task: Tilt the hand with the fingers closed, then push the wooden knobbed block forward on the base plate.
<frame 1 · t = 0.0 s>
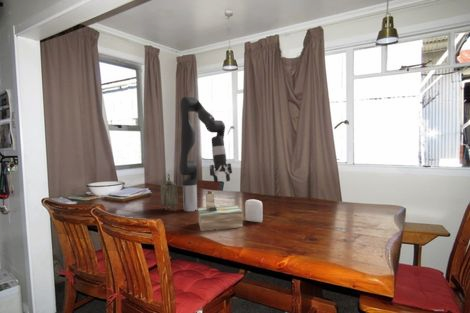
hand: (222, 182, 164), 22 cm above the table, tool pointing down, fingers open, 8 cm apart
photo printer: (254, 221, 162), on the table
wooden knobbed block: (210, 200, 154), point 14 cm above the table, slide at 0.0 cm
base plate: (219, 224, 156), on the table
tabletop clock: (169, 210, 193), on the table
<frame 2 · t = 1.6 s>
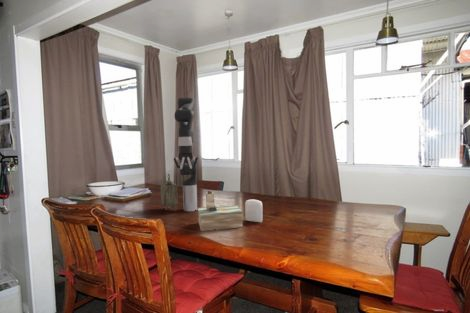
hand: (186, 175, 161), 27 cm above the table, tool pointing down, fingers open, 4 cm apart
nothing on the table moved.
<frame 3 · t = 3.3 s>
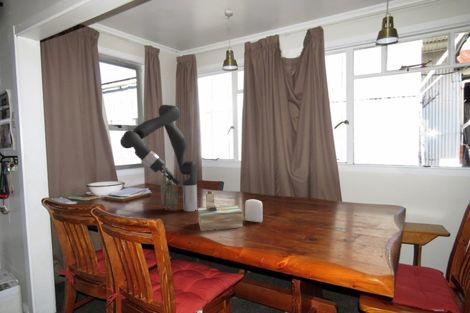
hand: (178, 183, 150), 24 cm above the table, tool tilted 45°, fingers closed
nothing on the table moved.
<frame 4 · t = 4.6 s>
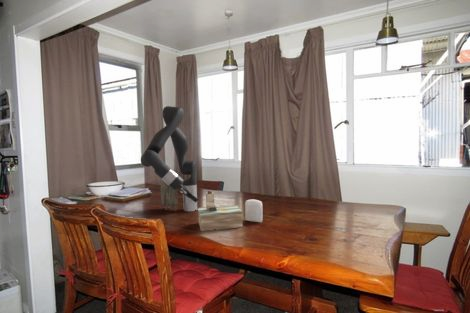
hand: (196, 201, 152), 14 cm above the table, tool tilted 45°, fingers closed
nothing on the table moved.
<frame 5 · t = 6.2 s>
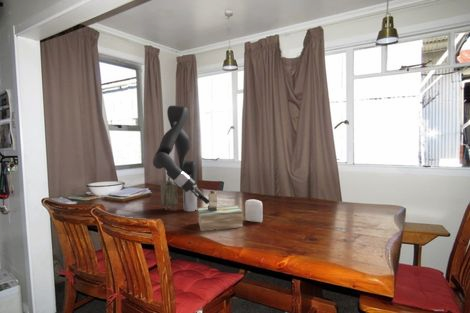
hand: (208, 202, 154), 13 cm above the table, tool tilted 45°, fingers closed
wooden knobbed block: (212, 200, 154), point 14 cm above the table, slide at 1.4 cm, touching gripper
everything else where it was.
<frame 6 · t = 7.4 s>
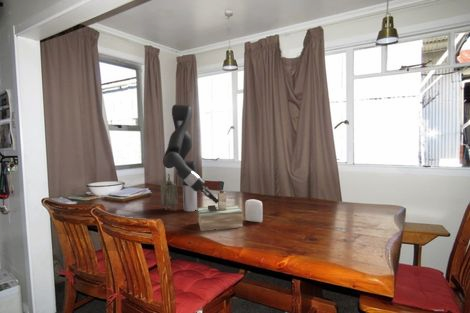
hand: (217, 201, 155), 13 cm above the table, tool tilted 45°, fingers closed
wooden knobbed block: (222, 199, 155), point 14 cm above the table, slide at 6.5 cm, touching gripper
everything else where it was.
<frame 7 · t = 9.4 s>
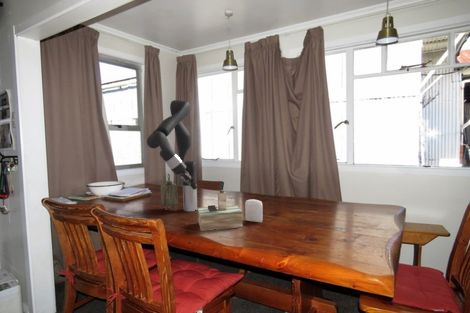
hand: (195, 188, 156), 20 cm above the table, tool tilted 35°, fingers closed
wooden knobbed block: (222, 199, 155), point 14 cm above the table, slide at 6.6 cm
everything else where it was.
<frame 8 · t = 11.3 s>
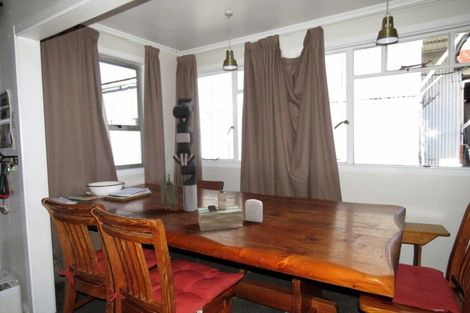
hand: (184, 172, 160), 29 cm above the table, tool pointing down, fingers closed
nothing on the table moved.
at the end: wooden knobbed block slide at 6.6 cm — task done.
